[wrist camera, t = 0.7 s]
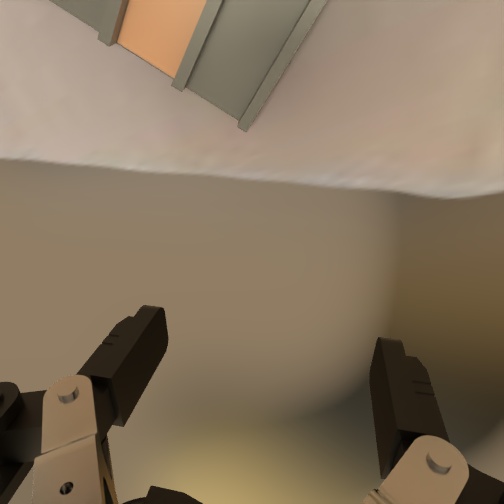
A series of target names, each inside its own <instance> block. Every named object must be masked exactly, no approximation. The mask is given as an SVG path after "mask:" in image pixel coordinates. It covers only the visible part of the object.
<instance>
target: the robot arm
mask: <svg viewBox="0 0 504 504" xmlns="http://www.w3.org/2000/svg"><path fill="white" fill-rule="evenodd" d="M167 346H168V332H167V325H166V317H165V311H164V308H162V307H155V306H147V305H143V306H142V307H141V308H140V309H139V311H138V312H137V313H136V315H135V316H134V317H130V316H128V317H127V318H125V319H124V320H122V321H121V322H119V323H118V324H116V326H115V327H114V328H113V329H112V331H111V332H110V333H109V336H107V337H106V338H105V339H104V340H103V342H102V344H101V345H100V346H99V347H98V348H97V349H96V350H95V352H94V353H93V354H92V355H91V357H90V358H89V359H88V361H87V362H86V363H85V364H84V366H83V367H82V368H81V369H80V370H79V372H78V373H77V374H76V375H71V376H67V377H64V378H62V379H60V380H58V381H57V382H55V383H54V384H53V385H51V386H50V387H49V388H48V390H44V391H35V392H27V393H20V391H19V389H18V387H17V385H16V384H14V383H11V382H0V504H8V502H9V501H10V499H11V498H12V496H13V495H14V493H15V492H16V490H17V489H18V487H19V486H20V484H21V483H22V481H23V480H24V478H25V477H26V476H27V474H28V473H29V471H30V470H31V468H32V467H33V465H34V472H33V493H32V504H118V500H117V495H116V491H115V484H114V477H113V470H112V463H111V456H110V449H109V443H108V436H107V432H108V431H109V429H110V428H111V426H112V425H116V426H122V427H124V425H125V424H126V422H127V420H128V418H129V417H130V415H131V413H132V411H133V409H134V408H135V406H136V404H137V402H138V400H139V399H140V397H141V395H142V394H143V392H144V390H145V388H146V386H147V385H148V383H149V381H150V379H151V377H152V375H153V374H154V372H155V370H156V369H157V367H158V365H159V363H160V361H161V360H162V358H163V356H164V354H165V352H166V349H167ZM369 387H370V395H371V403H372V411H373V419H374V427H375V435H376V443H377V451H378V459H379V466H380V475H381V479H385V481H384V482H383V483H382V485H381V486H380V487H379V488H378V489H377V490H376V489H374V490H372V491H371V492H370V493H369V494H368V496H367V497H366V498H365V500H364V501H363V502H362V504H504V482H502V481H499V480H497V479H495V478H493V477H491V476H488V475H487V474H484V473H482V472H480V471H478V470H476V469H475V468H473V467H472V466H470V465H469V464H468V463H466V461H465V459H464V457H463V456H462V454H461V453H460V452H459V451H458V450H457V449H456V448H455V447H454V446H452V445H451V443H450V441H449V438H448V435H447V432H446V429H445V426H444V423H443V419H442V416H441V413H440V410H439V407H438V404H437V401H436V398H435V397H434V391H433V388H432V386H431V382H430V378H429V375H428V372H427V370H426V368H425V367H424V366H423V365H422V363H421V362H420V361H419V360H418V359H417V357H411V356H406V355H405V351H404V347H403V343H402V341H401V340H398V339H391V338H383V337H378V339H377V341H376V346H375V350H374V354H373V359H372V362H371V366H370V373H369ZM123 504H202V503H201V502H199V501H197V500H196V499H194V498H192V497H191V496H189V495H187V494H185V493H183V492H178V491H174V490H169V489H165V488H160V487H156V486H151V487H150V489H149V491H148V494H147V496H146V497H143V498H138V499H133V500H131V501H128V502H125V503H123Z"/></svg>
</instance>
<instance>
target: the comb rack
mask: <svg viewBox="0 0 504 504" xmlns="http://www.w3.org/2000/svg"><path fill="white" fill-rule="evenodd" d="M50 1H51V2H53V3H55V4H56V5H58V6H59V7H61V8H62V9H64V10H66V11H67V12H69V13H70V14H72V15H73V16H75V17H77V18H78V19H80V20H81V21H83V22H84V23H86V24H88V25H89V26H91V27H92V28H94V29H95V30H97V31H99V35H98V40H100V41H101V42H103V43H105V44H106V45H108V46H111V45H113V44H115V43H117V44H119V45H121V46H122V47H124V48H125V49H127V50H128V51H130V52H132V53H133V54H135V55H136V56H138V57H139V58H141V59H143V60H144V61H146V62H147V63H149V64H150V65H152V66H154V67H155V68H157V69H158V70H160V71H161V72H163V73H165V74H166V75H168V76H169V77H171V78H172V79H174V80H173V83H172V85H171V86H173V87H175V88H176V89H178V90H179V91H181V92H182V91H183V90H184V89H185V87H187V88H188V89H190V90H191V91H193V92H195V93H196V94H198V95H199V96H201V97H202V98H204V99H206V100H207V101H209V102H210V103H212V104H213V105H215V106H217V107H218V108H220V109H221V110H223V111H224V112H226V113H228V114H229V115H231V116H232V117H234V118H235V119H237V120H239V122H238V125H237V127H238V128H240V129H241V130H243V131H244V132H247V130H248V129H249V127H250V126H251V124H252V122H253V121H254V119H255V117H256V116H257V114H258V113H259V111H260V109H261V108H262V106H263V104H264V103H265V101H266V100H267V98H268V96H269V95H270V93H271V91H272V90H273V88H274V87H275V85H276V83H277V82H278V80H279V78H280V77H281V75H282V73H283V72H284V70H285V69H286V67H287V65H288V64H289V62H290V60H291V59H292V57H293V56H294V54H295V52H296V51H297V49H298V47H299V46H300V44H301V43H302V41H303V39H304V38H305V36H306V34H307V33H308V31H309V30H310V28H311V26H312V25H313V23H314V21H315V20H316V18H317V16H318V15H319V13H320V12H321V10H322V8H323V7H324V5H325V3H326V2H327V0H50Z"/></svg>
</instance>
